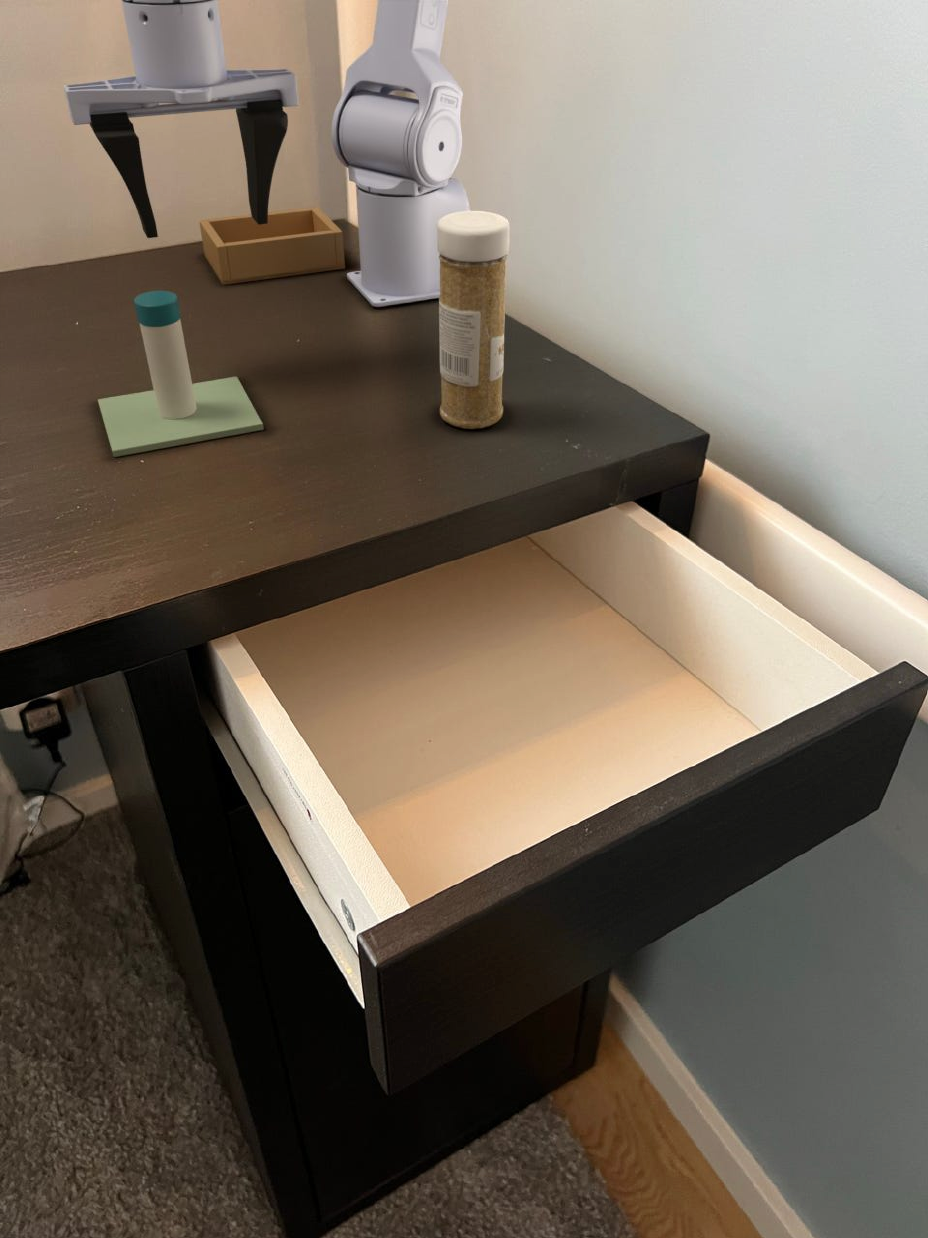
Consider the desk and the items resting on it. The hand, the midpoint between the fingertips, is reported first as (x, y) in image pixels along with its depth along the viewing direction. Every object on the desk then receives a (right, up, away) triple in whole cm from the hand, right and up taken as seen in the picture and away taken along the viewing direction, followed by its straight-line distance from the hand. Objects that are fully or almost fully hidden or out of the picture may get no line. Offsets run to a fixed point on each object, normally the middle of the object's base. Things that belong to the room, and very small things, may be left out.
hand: (206, 226), depth 68 cm
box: (0, +6, +24) cm, 25 cm away
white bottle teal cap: (-2, -13, -1) cm, 13 cm away
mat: (-2, -13, 0) cm, 14 cm away
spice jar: (+19, -13, 0) cm, 23 cm away
